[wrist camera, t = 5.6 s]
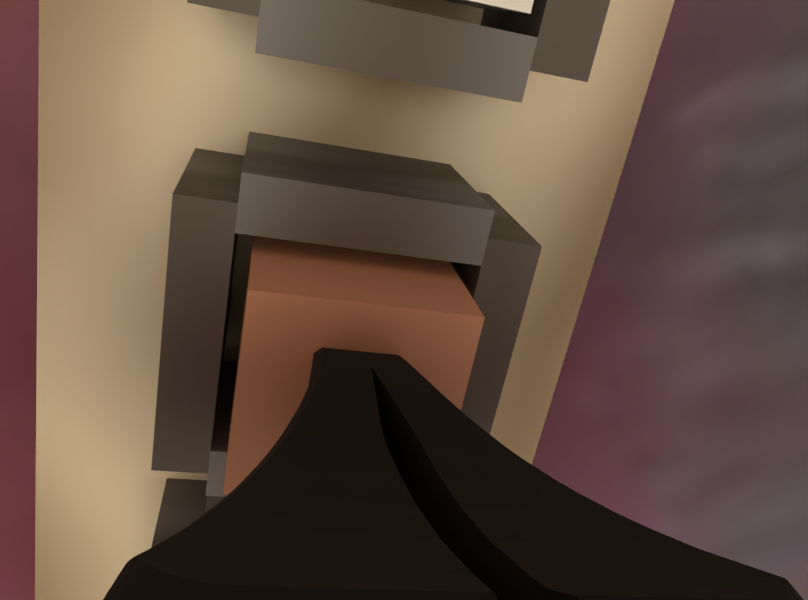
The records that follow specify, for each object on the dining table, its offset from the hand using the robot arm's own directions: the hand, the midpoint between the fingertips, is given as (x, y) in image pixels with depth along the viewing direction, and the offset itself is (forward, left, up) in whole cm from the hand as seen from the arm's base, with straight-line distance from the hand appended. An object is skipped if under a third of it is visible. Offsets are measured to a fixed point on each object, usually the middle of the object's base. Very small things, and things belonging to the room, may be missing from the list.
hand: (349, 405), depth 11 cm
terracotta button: (0, 0, -3) cm, 3 cm away
